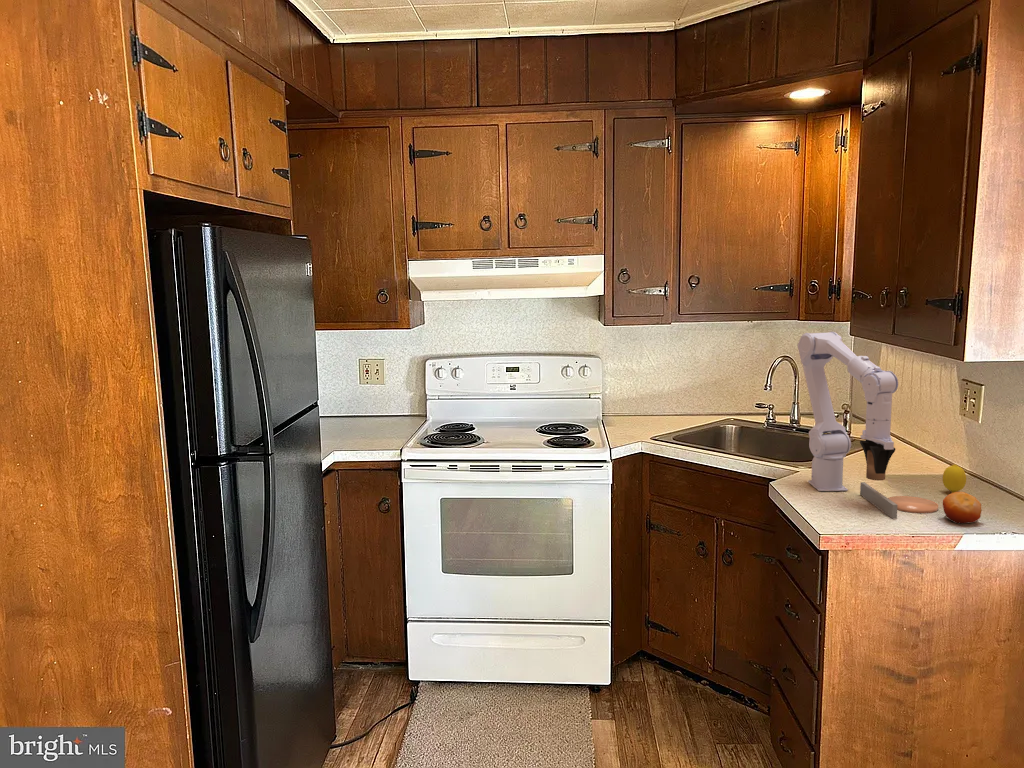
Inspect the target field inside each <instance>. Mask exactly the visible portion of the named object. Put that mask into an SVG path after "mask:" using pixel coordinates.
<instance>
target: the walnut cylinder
mask: <svg viewBox="0 0 1024 768" xmlns="http://www.w3.org/2000/svg"><path fill="white" fill-rule="evenodd" d="M886 471H887V470H886ZM886 471H885V474H876V473H875V468H874V458H873V454H872V451H871V450H868V451H867V463H866V472H865V473H866V474H865V477H866V479H867V480H871V481H886Z"/></svg>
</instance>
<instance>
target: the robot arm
mask: <svg viewBox="0 0 1024 768" xmlns="http://www.w3.org/2000/svg"><path fill="white" fill-rule="evenodd" d="M797 350H798V354H799V358H800V363H801V365H802V368H803V373H804V377H805V378H804V379H805V382H806V387H807V391H808V396H809V400H810V404H811V408H812V413H813V419H814V422H815V424H814V426H812V428H811V429H810V430H809V431H808V436H809V442H808V443H809V444H808V445H809V446H808V447H809V450H810V452H811V454H812V456H813V458H812V461H811V476H810V477H811V479H809V480H807V482H808V484H810V485H811V486H812V487H813V488H815V489H816V490H817V491H818V492H848V490H849V489H848V488H847V487H846V486H844V485H843V481H844V480H843V479H844V478H843V476H844V458H846V457H847V454H848V453H849V452H850V451H851V448H852V441H851V439H850V437H849V435H848V433H847V430H846V427H845V426H844V425H842V424H841V423H839V421H837V420H836V416H835V411H834V406H833V403H832V398H831V394H830V389H829V385H828V381H827V377H826V373H825V367H826V365H827V364H828V363H830V362H831V361H832V359H833V358H835V359H837V360H838V361H839V362H841V363H842V364H843V365H846V367H847V368H846V369H847V372H848V373H849V375H850V376H852V377H853V378H854V379H855V380H856V381H858V382H859V383H860V384H861V388H862V390H863V392H864V399H865V401H866V408H865V409H866V410H865V411H866V413H865V429H862V432H861V433H862V434H861V435H860V439H862V440H860V441H859V444H860V445H861V448H862V451H863V452H864V454H863V455H864V456H865V462H866V464H867V451H868V450H871V451H872V454H873V458H874V468H875V473H876V474H885V475H886V472H885V471H887V468H888V464H889V462H890V460H891V458H892V456H893V455H894V453H895V452H896V447H894V446H895V442H894V441H893V439H892V435H891V426H892V407H893V394H894V393H895V392H896V391H897V390H898V387H899V379H898V377H897V375H896V374H895V373H894V372H893V371H892V370H882V368H881V367H880V366H879V365H876V364H875V363H874V362H872V360H870V357H869V356H867V355H858V356H857V354H856V353H855V352H853V350H852V349H850V348H849V347H848V346H847V345H846V344H845V343H844V342H843V338H842V336H841V335H839V334H838V333H837V332H836V331H829V332H805V333H803V334H802V335H801V336H800V338H799V341H798V343H797Z"/></svg>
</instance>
